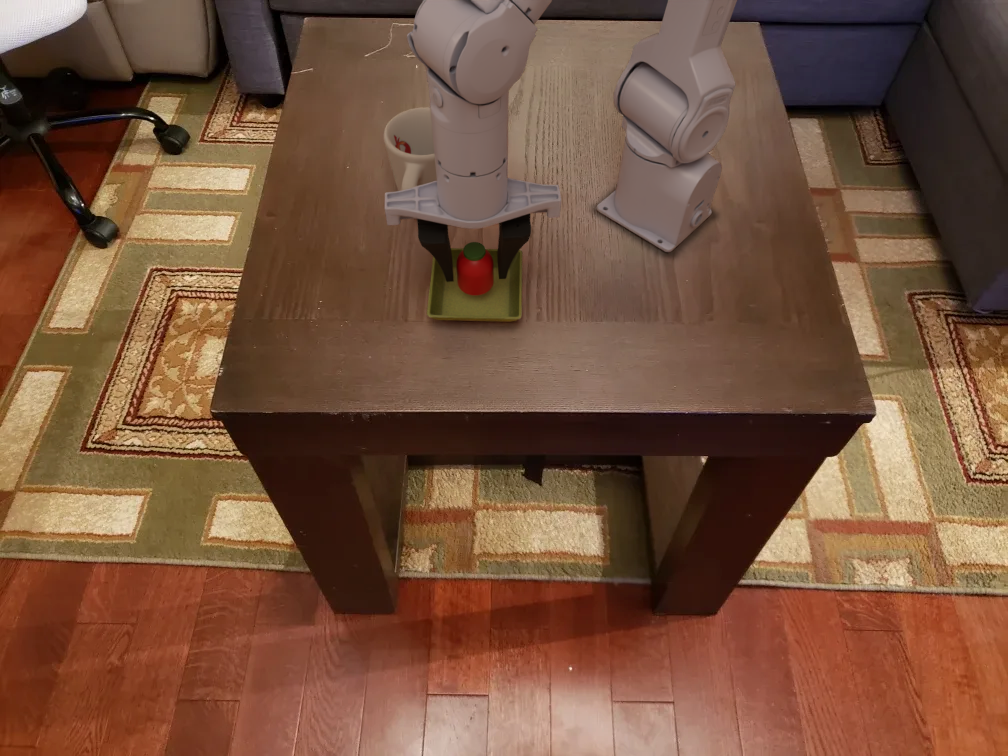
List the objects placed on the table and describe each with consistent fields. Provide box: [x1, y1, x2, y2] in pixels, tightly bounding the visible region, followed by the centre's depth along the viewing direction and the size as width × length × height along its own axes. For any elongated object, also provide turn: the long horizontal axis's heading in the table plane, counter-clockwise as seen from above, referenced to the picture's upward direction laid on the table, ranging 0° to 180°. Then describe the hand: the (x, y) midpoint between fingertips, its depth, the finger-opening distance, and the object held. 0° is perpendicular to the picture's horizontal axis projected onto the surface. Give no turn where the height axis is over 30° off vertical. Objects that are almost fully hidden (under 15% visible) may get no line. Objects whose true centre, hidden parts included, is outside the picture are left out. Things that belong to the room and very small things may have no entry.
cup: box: [383, 106, 437, 191], centre depth 75 cm, size 11×8×8 cm
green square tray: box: [426, 247, 524, 323], centre depth 70 cm, size 9×9×2 cm
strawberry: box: [456, 241, 494, 295], centre depth 68 cm, size 3×3×4 cm
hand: (475, 272), depth 69 cm, fingers open, 4 cm apart
